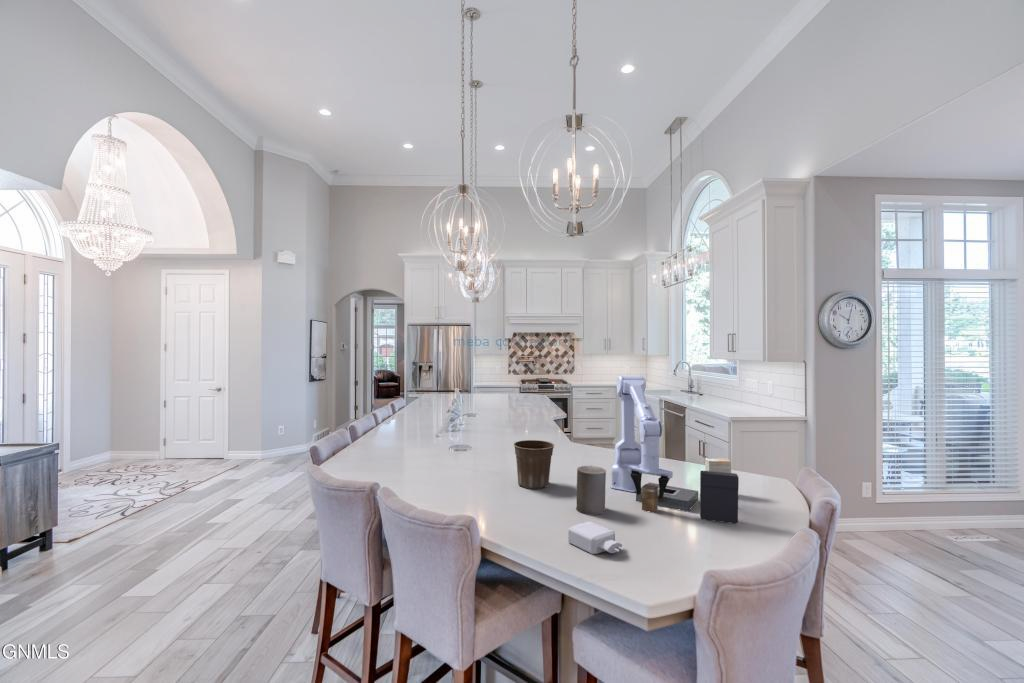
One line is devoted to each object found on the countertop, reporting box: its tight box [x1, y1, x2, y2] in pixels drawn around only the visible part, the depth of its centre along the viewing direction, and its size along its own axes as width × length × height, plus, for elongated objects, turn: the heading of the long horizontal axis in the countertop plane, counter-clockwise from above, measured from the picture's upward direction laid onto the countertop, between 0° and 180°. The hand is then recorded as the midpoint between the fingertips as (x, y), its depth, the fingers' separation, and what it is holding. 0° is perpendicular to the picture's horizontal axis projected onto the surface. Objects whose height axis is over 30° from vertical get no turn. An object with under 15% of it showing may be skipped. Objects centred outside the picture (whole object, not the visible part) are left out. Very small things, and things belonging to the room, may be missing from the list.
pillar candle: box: [575, 465, 607, 516], centre depth 160 cm, size 10×10×15 cm
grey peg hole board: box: [635, 482, 699, 512], centre depth 170 cm, size 18×14×4 cm
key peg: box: [641, 483, 658, 513], centre depth 161 cm, size 4×4×8 cm
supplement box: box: [704, 457, 732, 473], centre depth 180 cm, size 8×5×13 cm, turn 84°
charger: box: [567, 520, 625, 555], centre depth 129 cm, size 5×9×15 cm
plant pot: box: [513, 439, 555, 490], centre depth 189 cm, size 16×16×16 cm
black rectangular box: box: [699, 470, 740, 524], centre depth 152 cm, size 11×4×15 cm, turn 71°
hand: (649, 496), depth 161 cm, fingers open, 7 cm apart
